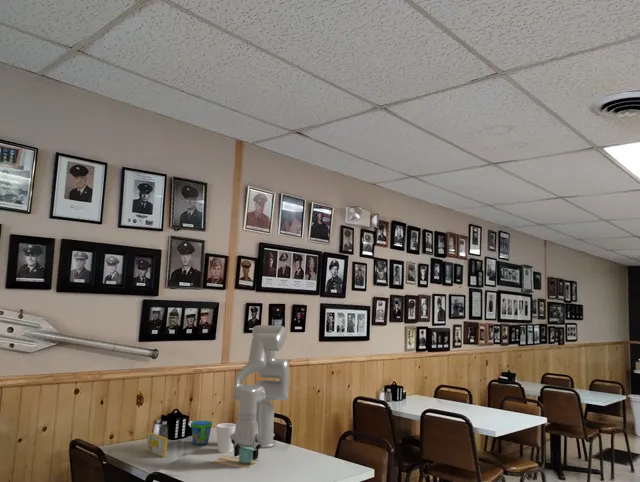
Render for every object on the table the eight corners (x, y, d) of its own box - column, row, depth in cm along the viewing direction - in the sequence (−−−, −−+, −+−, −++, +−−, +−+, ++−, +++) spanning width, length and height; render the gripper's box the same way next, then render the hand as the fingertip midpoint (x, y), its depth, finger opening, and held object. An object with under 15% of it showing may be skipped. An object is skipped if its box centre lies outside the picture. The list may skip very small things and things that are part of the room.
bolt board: (223, 459, 238) (223, 446, 239) (259, 463, 233) (260, 450, 233) (210, 466, 227) (210, 453, 227) (248, 471, 221) (248, 458, 222)
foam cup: (218, 457, 240) (219, 428, 242) (212, 452, 248) (214, 424, 250) (238, 455, 245) (239, 426, 246) (231, 450, 253) (233, 422, 254)
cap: (245, 463, 224) (246, 451, 225) (235, 460, 228) (236, 448, 229) (255, 460, 229) (256, 448, 230) (246, 457, 233) (246, 445, 234)
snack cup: (211, 447, 257) (212, 425, 259) (189, 448, 255) (190, 426, 256) (210, 439, 273) (211, 419, 274) (189, 440, 270) (191, 419, 271)
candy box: (167, 457, 240) (168, 438, 241) (162, 457, 238) (163, 439, 239) (150, 449, 251) (151, 431, 252) (146, 450, 250) (147, 432, 251)
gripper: (226, 416, 231) (224, 456, 229) (259, 420, 224) (257, 462, 221) (236, 413, 238) (235, 452, 236) (268, 417, 230) (267, 458, 228)
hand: (245, 457), depth 229 cm, fingers open, 9 cm apart
